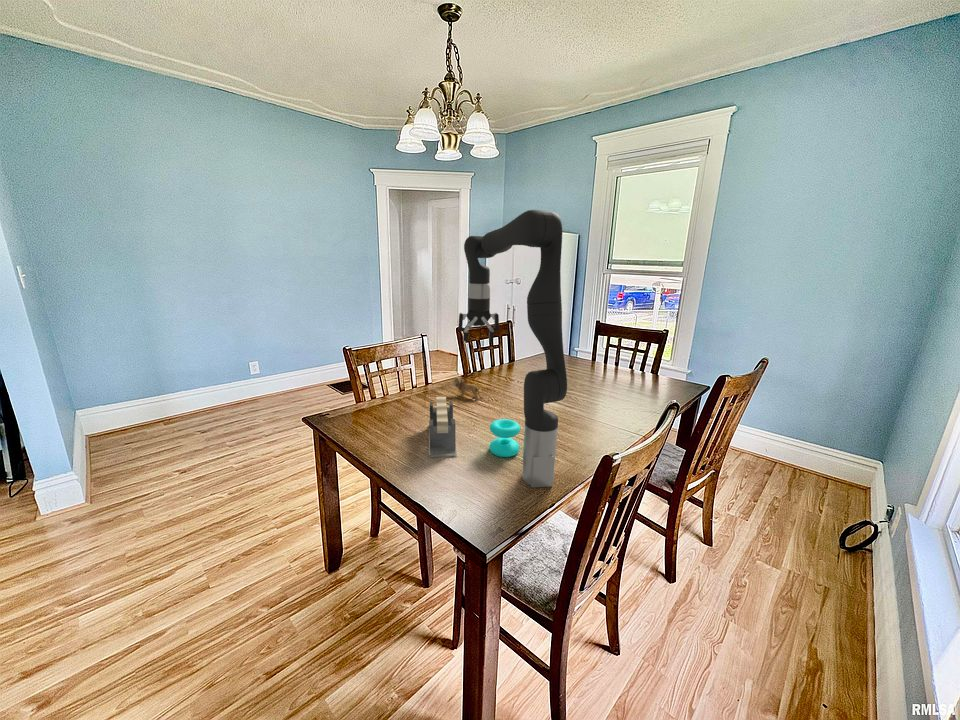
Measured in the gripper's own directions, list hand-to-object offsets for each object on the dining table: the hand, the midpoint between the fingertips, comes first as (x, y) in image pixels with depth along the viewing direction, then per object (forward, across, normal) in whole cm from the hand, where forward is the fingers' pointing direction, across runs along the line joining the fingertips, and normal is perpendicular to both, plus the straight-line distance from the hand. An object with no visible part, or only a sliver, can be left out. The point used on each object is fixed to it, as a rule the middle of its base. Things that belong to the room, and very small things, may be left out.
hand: (478, 342), depth 137 cm
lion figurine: (+33, -1, +32) cm, 46 cm away
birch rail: (+25, -14, -9) cm, 30 cm away
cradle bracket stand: (+33, -14, -9) cm, 37 cm away
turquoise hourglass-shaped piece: (+33, +7, -19) cm, 39 cm away
